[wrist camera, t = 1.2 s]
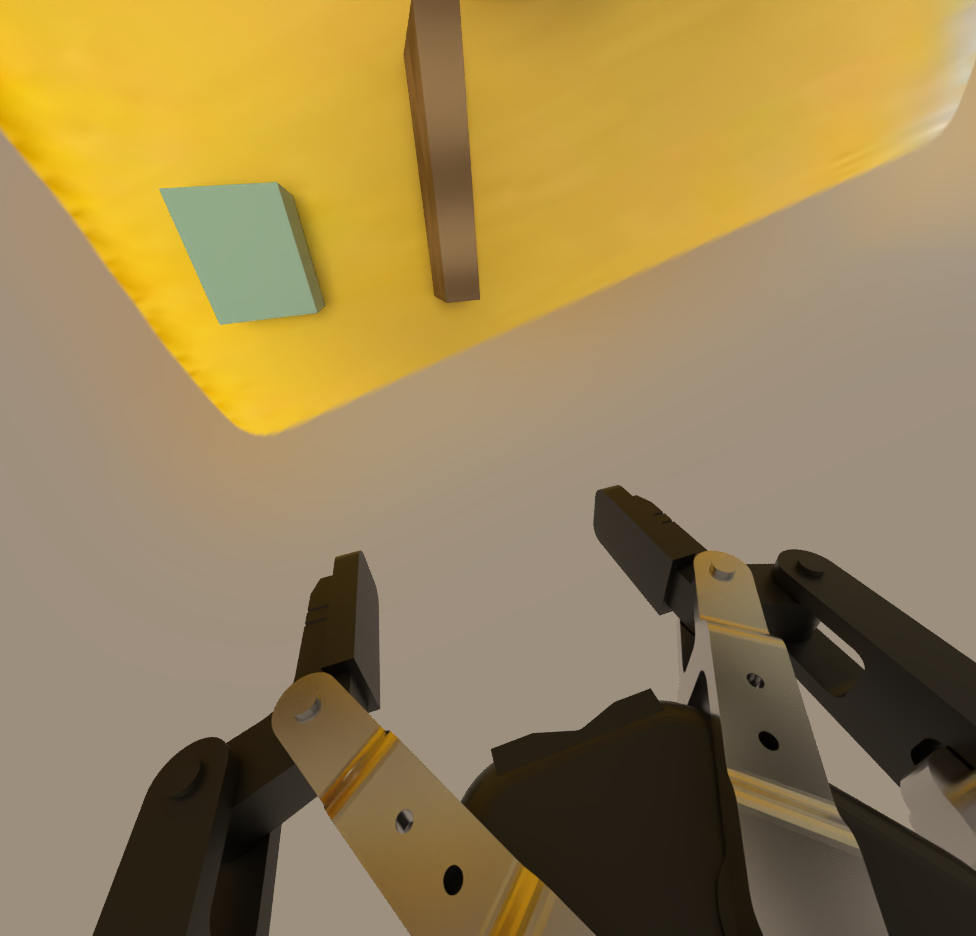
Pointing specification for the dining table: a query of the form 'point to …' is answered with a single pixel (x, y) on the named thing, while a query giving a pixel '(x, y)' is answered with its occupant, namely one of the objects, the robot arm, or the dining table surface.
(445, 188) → the walnut board
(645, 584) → the robot arm
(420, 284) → the dining table surface
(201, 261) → the teal block
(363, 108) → the dining table surface
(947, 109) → the dining table surface
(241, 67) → the dining table surface
